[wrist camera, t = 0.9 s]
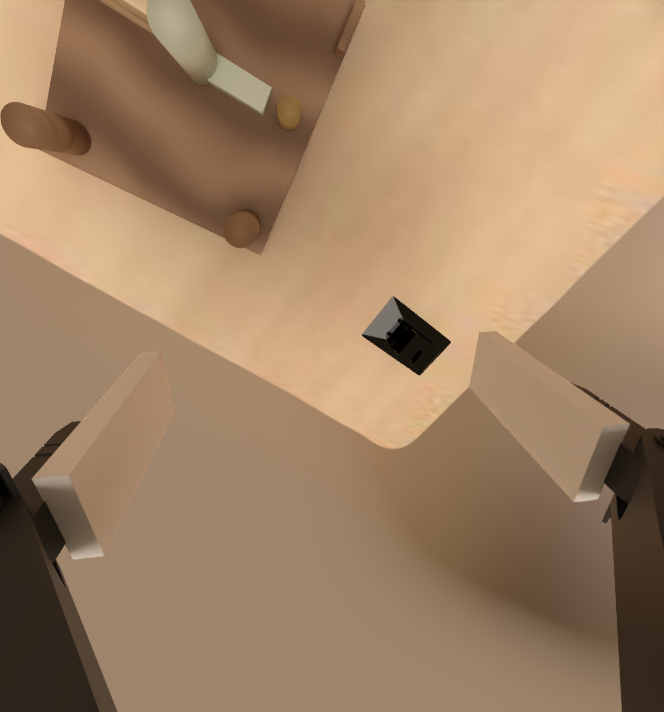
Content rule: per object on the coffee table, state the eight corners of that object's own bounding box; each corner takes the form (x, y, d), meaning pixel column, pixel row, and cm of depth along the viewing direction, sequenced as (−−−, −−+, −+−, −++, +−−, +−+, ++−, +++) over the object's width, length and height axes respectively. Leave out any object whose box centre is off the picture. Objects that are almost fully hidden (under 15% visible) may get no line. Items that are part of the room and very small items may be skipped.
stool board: (111, -174, 22) (36, -333, 15) (361, 14, 28) (386, -42, 21) (50, 151, 29) (-21, 140, 22) (261, 252, 34) (256, 268, 27)
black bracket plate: (345, 331, 40) (352, 348, 35) (387, 278, 38) (400, 290, 33) (422, 385, 44) (436, 405, 40) (464, 340, 42) (483, 357, 38)
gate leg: (179, 72, 26) (140, 29, 19) (190, 33, 26) (154, -27, 18) (261, 121, 28) (253, 99, 21) (274, 86, 27) (271, 51, 20)
